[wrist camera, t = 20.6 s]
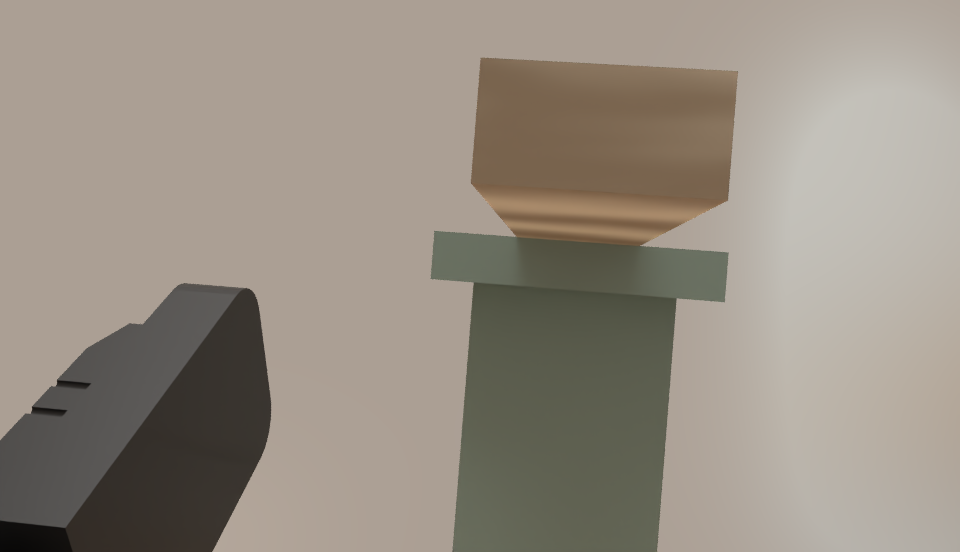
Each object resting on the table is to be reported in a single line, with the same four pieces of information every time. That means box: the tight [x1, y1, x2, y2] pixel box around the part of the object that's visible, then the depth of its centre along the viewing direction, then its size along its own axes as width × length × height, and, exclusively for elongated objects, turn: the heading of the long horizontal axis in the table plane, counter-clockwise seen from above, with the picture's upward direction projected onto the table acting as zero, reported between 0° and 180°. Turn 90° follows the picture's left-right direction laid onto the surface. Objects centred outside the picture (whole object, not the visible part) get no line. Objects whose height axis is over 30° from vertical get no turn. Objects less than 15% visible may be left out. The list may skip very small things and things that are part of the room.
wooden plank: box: [471, 58, 738, 246], centre depth 30 cm, size 28×5×2 cm, turn 175°
